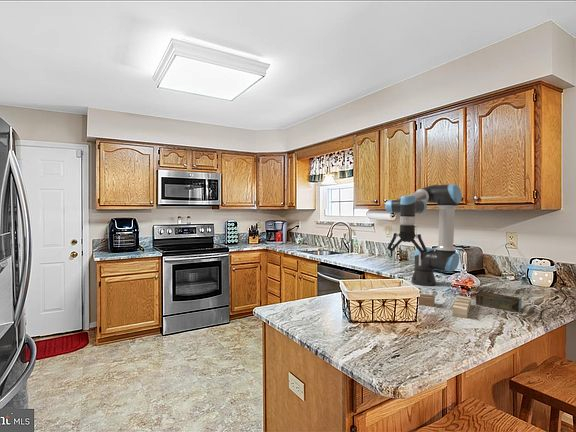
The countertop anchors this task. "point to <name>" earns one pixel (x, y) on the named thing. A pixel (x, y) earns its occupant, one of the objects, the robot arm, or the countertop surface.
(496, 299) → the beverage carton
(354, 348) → the countertop surface
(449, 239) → the robot arm
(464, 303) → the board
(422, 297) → the block
